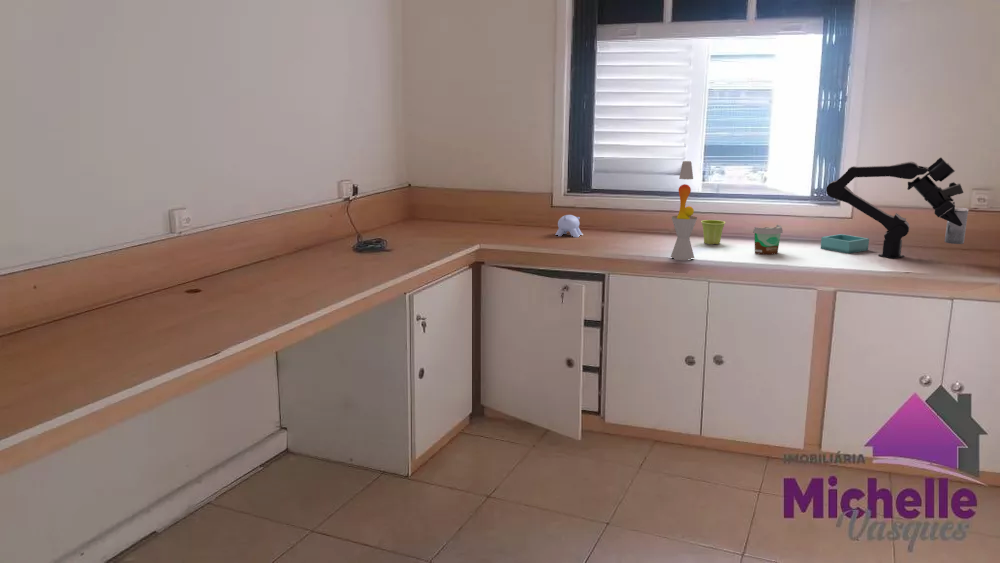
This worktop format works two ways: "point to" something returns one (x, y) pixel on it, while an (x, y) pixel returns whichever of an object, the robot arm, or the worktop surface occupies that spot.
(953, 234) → the grey can
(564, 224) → the hippopotamus toy
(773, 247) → the food container
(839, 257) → the worktop surface
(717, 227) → the plant pot
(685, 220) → the lava lamp
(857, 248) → the teal bin
